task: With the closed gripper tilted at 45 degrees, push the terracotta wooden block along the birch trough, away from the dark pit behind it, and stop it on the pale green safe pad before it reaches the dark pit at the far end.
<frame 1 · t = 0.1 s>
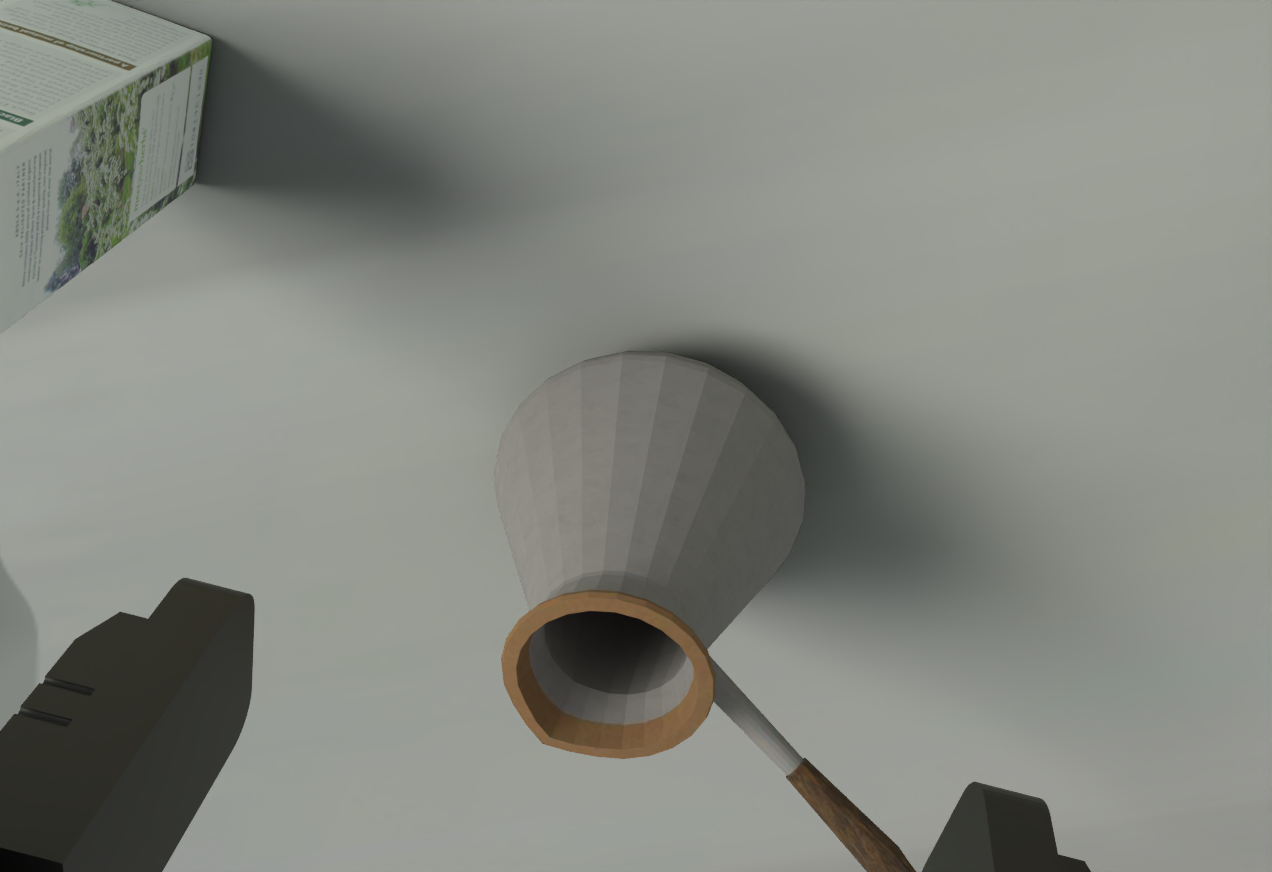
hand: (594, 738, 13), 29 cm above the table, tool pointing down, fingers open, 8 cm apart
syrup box: (133, 84, 41), on the table
coffee pot: (756, 519, 47), on the table
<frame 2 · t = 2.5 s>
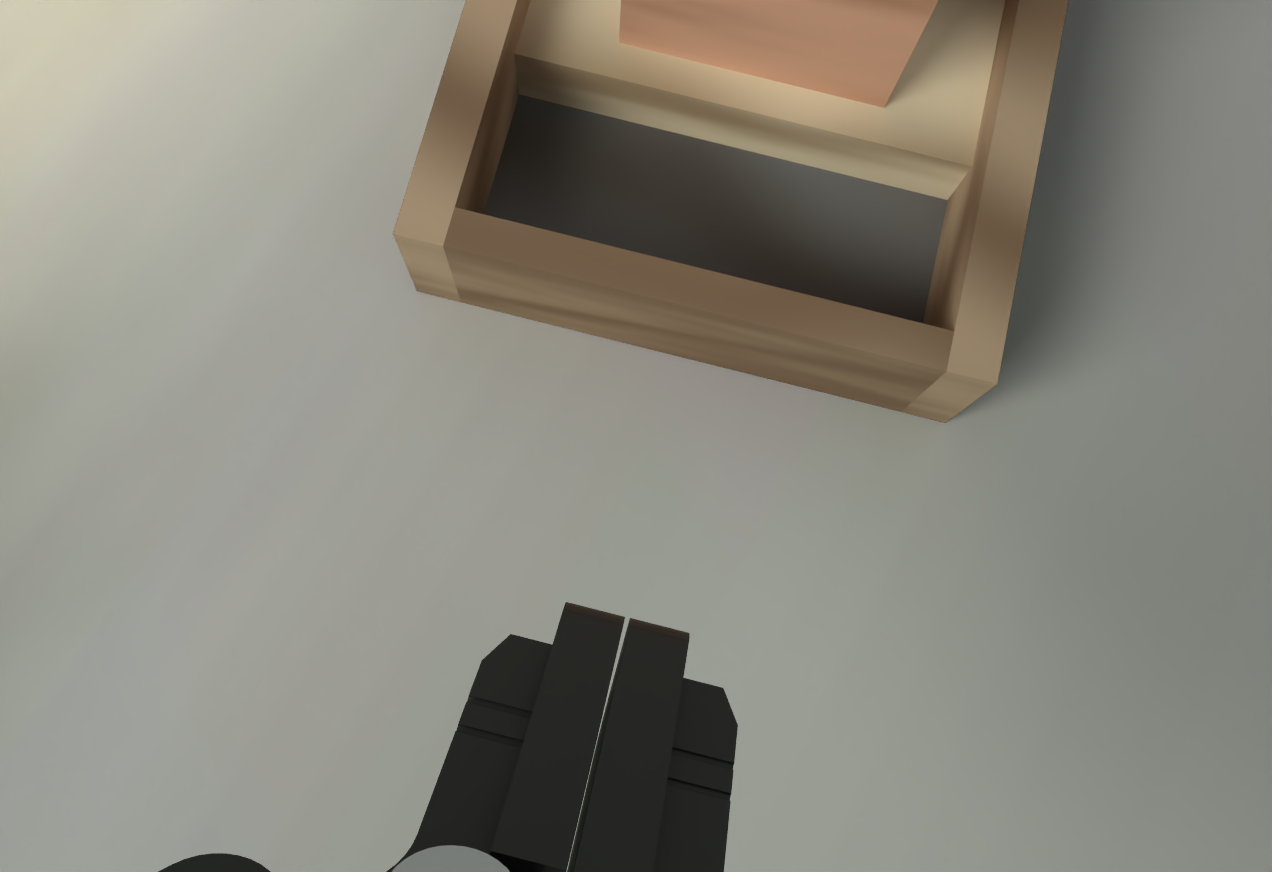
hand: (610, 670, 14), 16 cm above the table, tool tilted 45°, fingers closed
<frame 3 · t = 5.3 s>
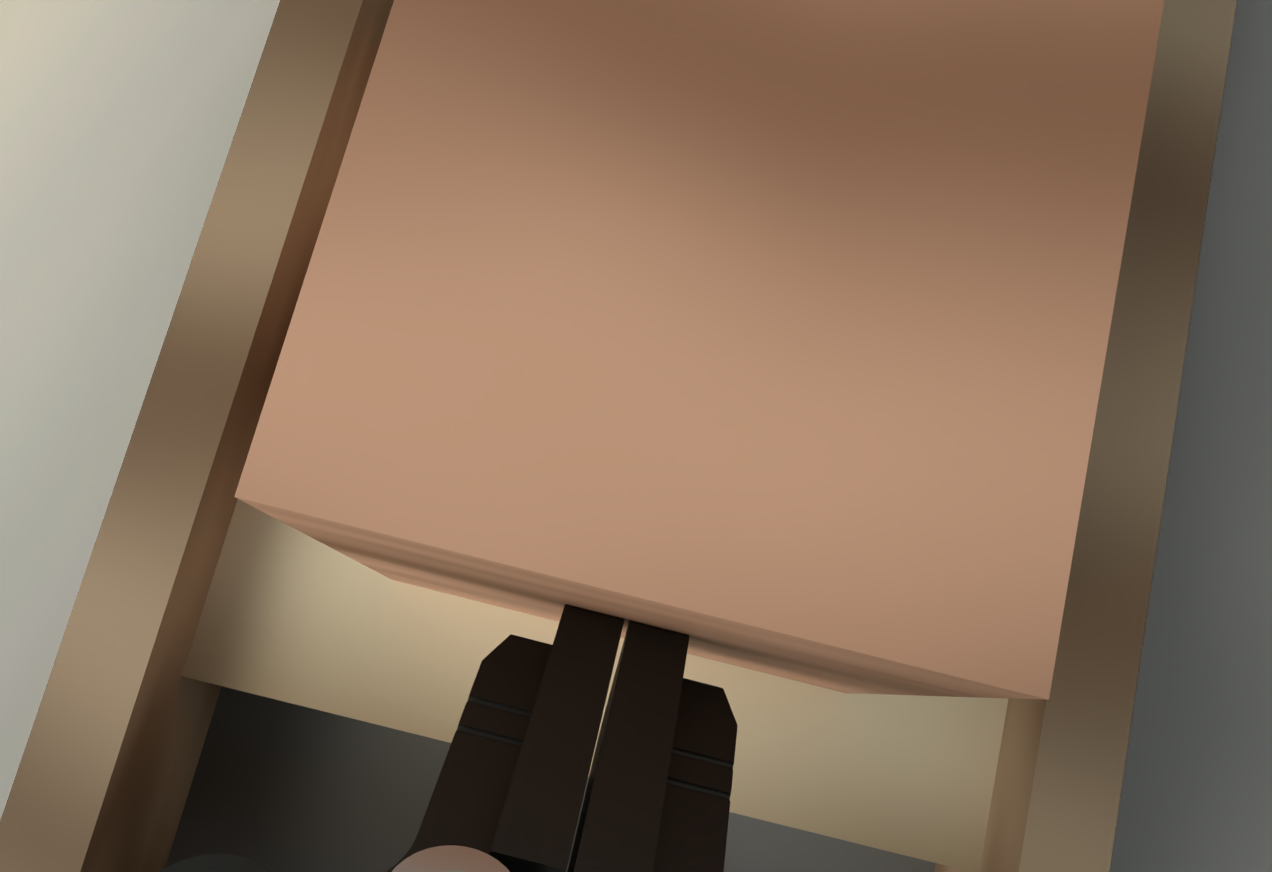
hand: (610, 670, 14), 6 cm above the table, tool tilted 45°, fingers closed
block: (693, 325, 19), point 3 cm above the table, touching gripper
trough: (718, 192, 22), on the table
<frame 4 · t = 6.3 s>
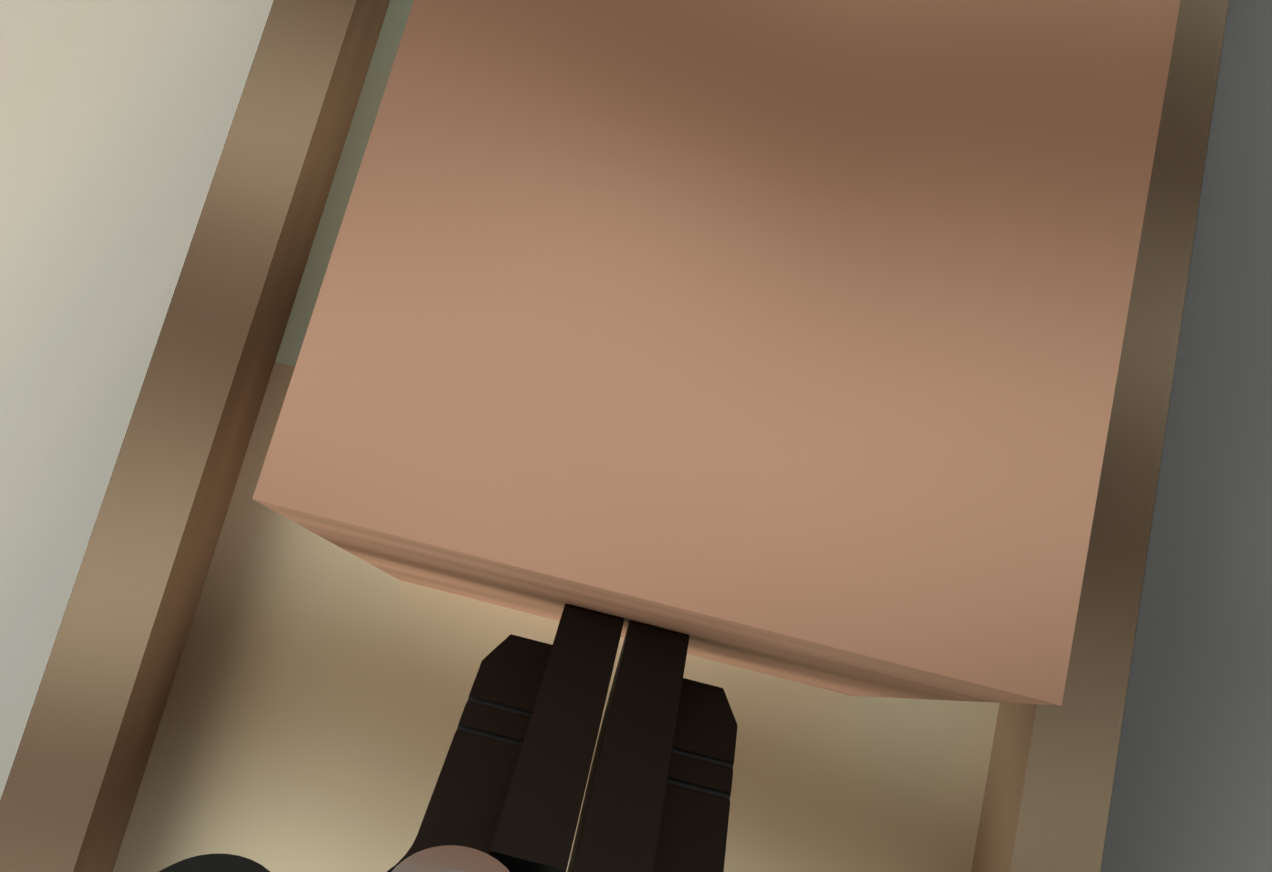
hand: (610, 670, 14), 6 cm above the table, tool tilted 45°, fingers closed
block: (702, 328, 19), point 3 cm above the table, touching gripper
safe pad: (708, 209, 22), resting in trough
trough: (642, 480, 21), on the table
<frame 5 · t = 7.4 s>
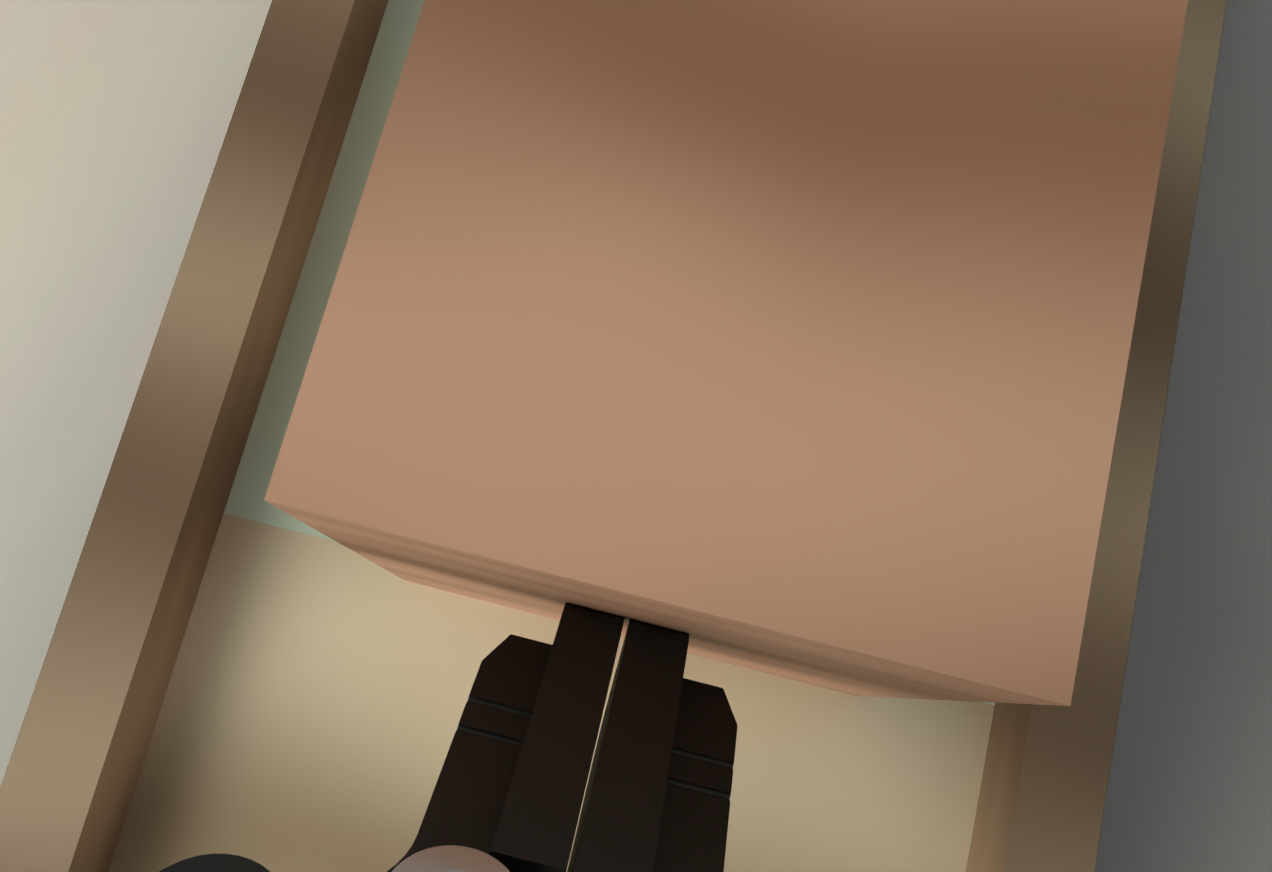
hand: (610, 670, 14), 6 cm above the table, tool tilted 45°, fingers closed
block: (706, 329, 19), point 2 cm above the table, touching gripper, safe pad, trough
safe pad: (675, 333, 21), resting in trough
trough: (605, 618, 20), on the table
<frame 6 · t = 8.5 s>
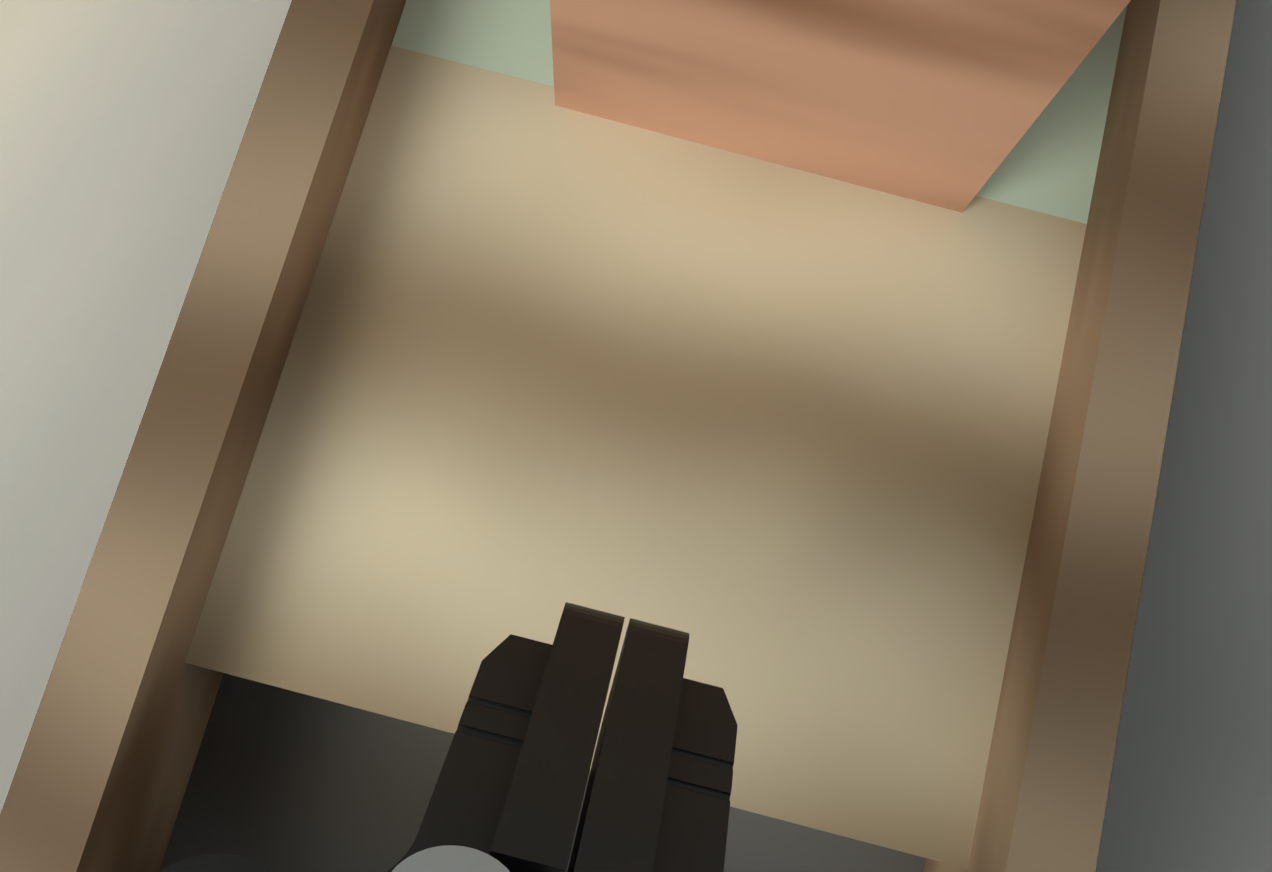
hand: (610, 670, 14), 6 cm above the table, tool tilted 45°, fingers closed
trough: (720, 195, 22), on the table
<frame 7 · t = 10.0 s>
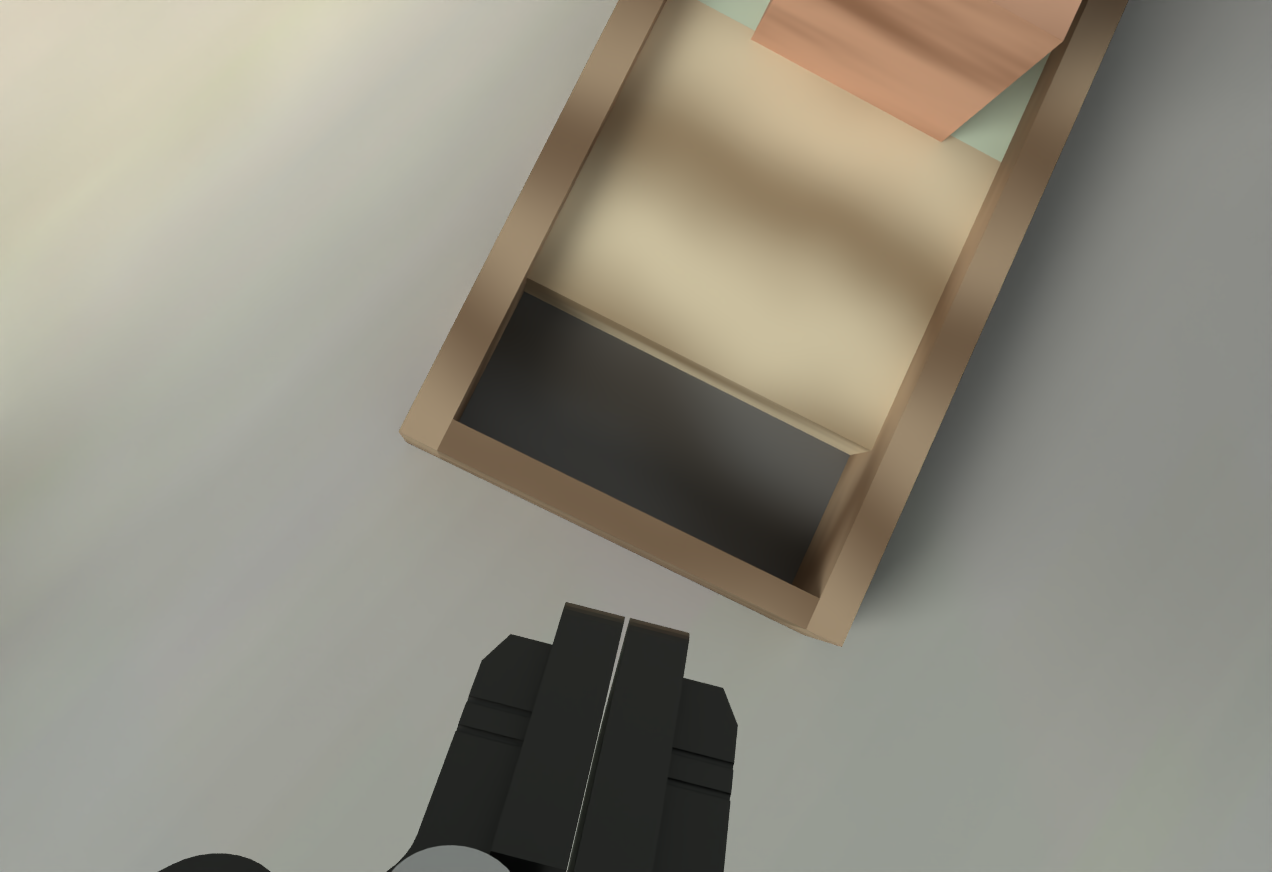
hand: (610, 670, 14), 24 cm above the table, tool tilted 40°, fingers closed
trough: (817, 103, 40), on the table
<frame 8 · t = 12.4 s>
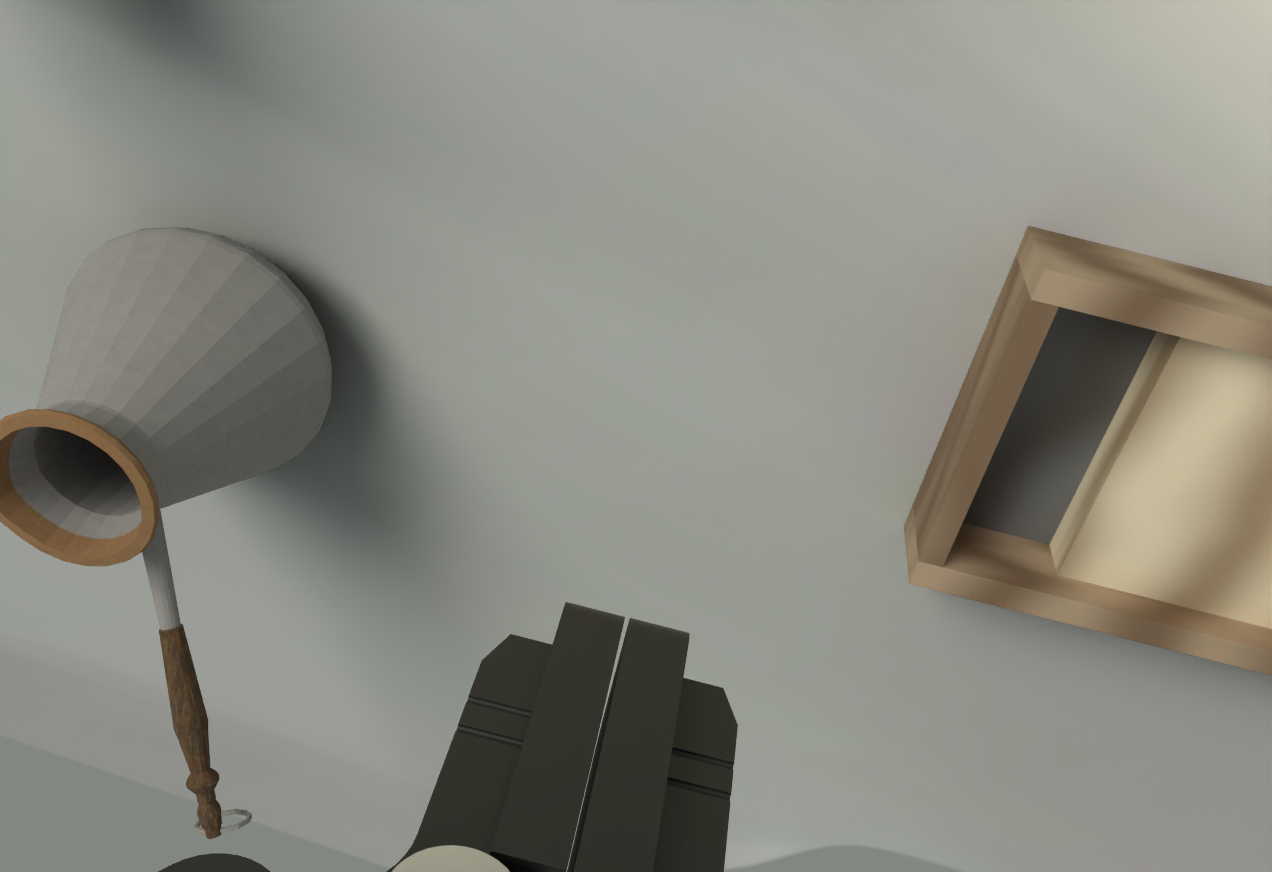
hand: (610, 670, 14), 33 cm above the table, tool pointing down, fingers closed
coffee pot: (270, 422, 54), on the table
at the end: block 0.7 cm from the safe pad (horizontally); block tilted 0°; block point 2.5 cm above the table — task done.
